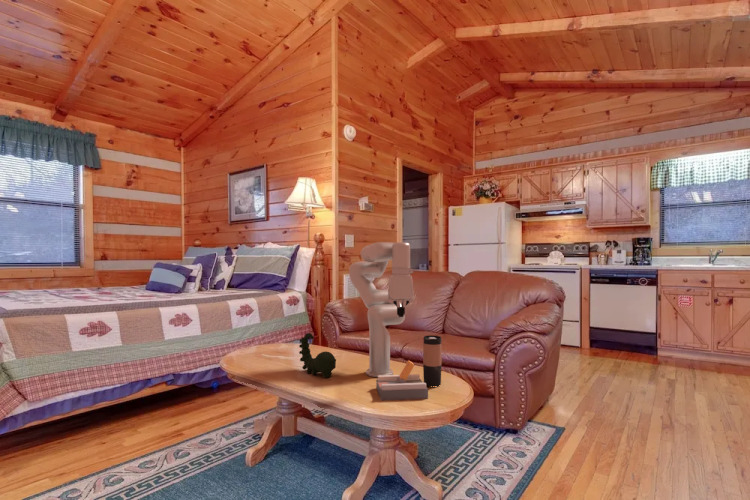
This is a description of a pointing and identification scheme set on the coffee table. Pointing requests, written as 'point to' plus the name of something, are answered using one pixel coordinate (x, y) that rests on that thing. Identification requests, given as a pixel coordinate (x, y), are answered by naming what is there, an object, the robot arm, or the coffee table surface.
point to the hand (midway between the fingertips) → (400, 316)
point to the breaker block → (401, 388)
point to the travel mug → (432, 360)
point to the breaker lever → (405, 372)
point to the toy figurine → (316, 359)
